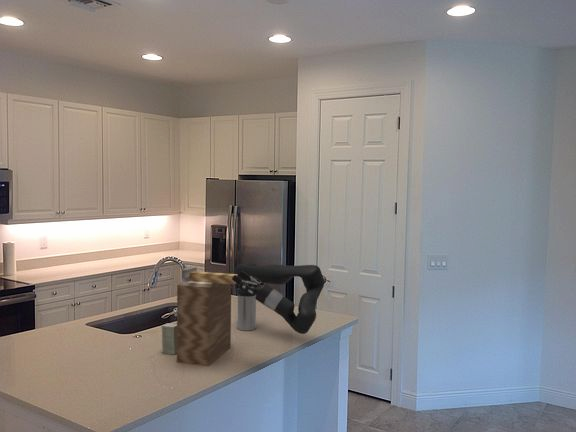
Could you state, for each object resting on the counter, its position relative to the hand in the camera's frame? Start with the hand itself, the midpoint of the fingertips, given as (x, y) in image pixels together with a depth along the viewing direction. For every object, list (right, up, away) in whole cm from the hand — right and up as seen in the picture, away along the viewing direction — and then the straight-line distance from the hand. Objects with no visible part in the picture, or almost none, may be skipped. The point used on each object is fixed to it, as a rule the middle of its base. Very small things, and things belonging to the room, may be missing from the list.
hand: (237, 275), depth 208 cm
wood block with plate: (-11, -3, +3) cm, 12 cm away
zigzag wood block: (-15, -36, +12) cm, 40 cm away
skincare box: (-30, -35, +14) cm, 48 cm away
